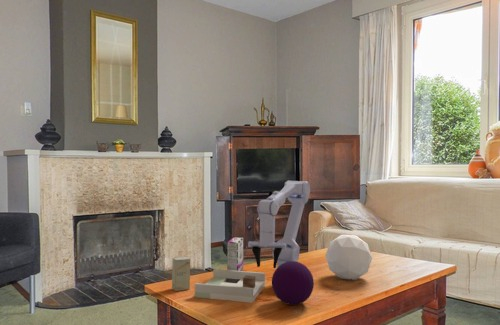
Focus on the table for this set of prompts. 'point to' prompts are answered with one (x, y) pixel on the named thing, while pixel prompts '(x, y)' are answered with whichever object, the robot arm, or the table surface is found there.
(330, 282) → the table surface
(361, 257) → the geometric orb
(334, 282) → the table surface
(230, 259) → the candy bar box
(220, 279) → the board
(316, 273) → the table surface
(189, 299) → the table surface
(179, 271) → the skincare box
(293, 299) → the toy ball
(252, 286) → the walnut block
